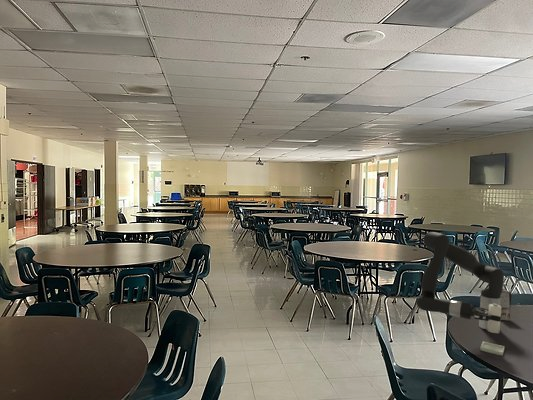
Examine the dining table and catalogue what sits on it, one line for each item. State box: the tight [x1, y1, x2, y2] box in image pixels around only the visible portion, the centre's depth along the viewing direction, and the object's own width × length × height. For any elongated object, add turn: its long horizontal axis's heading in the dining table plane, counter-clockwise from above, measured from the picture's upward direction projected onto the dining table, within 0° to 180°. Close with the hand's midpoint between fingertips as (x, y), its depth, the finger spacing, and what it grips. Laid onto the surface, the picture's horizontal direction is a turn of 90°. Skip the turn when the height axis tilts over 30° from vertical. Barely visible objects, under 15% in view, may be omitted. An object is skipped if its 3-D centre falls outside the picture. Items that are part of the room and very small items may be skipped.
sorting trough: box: [479, 341, 506, 356], centre depth 186 cm, size 9×9×2 cm
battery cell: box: [486, 303, 501, 334], centre depth 186 cm, size 5×5×13 cm
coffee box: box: [500, 288, 513, 321], centre depth 234 cm, size 9×6×16 cm
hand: (500, 317), depth 184 cm, fingers closed on battery cell, 5 cm apart
